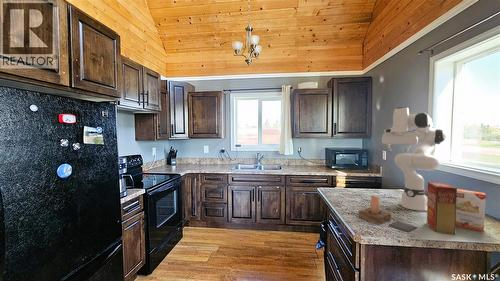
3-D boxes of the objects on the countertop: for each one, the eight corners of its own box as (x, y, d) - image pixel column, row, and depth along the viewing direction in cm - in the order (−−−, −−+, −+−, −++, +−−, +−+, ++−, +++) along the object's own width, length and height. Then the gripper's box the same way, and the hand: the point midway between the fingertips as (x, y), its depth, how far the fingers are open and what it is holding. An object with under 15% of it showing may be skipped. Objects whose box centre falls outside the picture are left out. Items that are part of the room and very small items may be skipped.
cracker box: (449, 224, 130) (451, 189, 129) (450, 221, 134) (451, 187, 133) (484, 232, 120) (486, 194, 119) (483, 229, 124) (485, 192, 123)
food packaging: (425, 222, 132) (427, 181, 131) (445, 225, 129) (446, 183, 128) (434, 232, 120) (436, 186, 119) (456, 235, 117) (458, 188, 116)
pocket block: (369, 213, 147) (370, 207, 147) (390, 220, 136) (391, 213, 136) (358, 217, 140) (358, 211, 140) (379, 224, 129) (379, 218, 129)
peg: (372, 216, 141) (373, 195, 140) (380, 219, 137) (380, 197, 137) (368, 218, 139) (369, 196, 138) (376, 220, 135) (376, 198, 134)
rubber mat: (397, 222, 133) (397, 220, 133) (416, 228, 125) (416, 226, 125) (388, 225, 128) (389, 224, 128) (408, 232, 119) (408, 230, 119)
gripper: (420, 131, 141) (419, 152, 140) (384, 131, 157) (383, 151, 156) (417, 129, 137) (416, 151, 136) (381, 130, 153) (380, 149, 152)
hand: (398, 151), depth 146 cm, fingers open, 8 cm apart
